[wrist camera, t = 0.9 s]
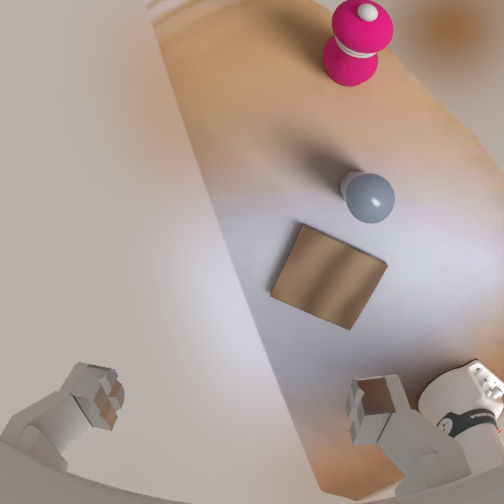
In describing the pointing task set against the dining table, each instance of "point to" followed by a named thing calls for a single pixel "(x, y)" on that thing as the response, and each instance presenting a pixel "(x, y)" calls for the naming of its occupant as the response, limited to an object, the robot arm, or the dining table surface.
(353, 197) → the spice jar
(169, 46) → the dining table surface
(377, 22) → the pepper mill
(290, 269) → the walnut board
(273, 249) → the dining table surface
